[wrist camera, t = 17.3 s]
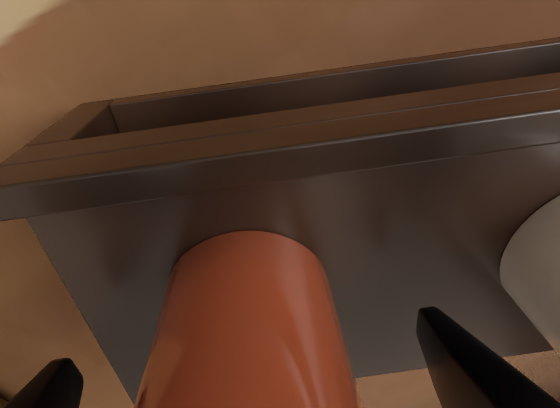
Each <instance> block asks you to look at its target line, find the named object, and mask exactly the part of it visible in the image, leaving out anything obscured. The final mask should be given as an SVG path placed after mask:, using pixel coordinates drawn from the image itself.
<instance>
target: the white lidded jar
mask: <svg viewBox="0 0 560 408" xmlns="http://www.w3.org/2000/svg"><path fill="white" fill-rule="evenodd" d="M500 279H501V283H502V286H503V288H504V289H505V291H506V292H507V294H508V295H509V296H510V297H511V298H512V300H513V301H514V302H515V303H516V304H517V306H518V307H519V308H520V309H521V310H522V312H523V313H524V314H525V315H526V316H527V318H528V319H529V320H530V321H531V322H532V324H533V325H534V326H535V327H536V328H537V330H538V331H539V332H540V333H541V335H542V336H543V337H544V338H545V339H546V341H547V342H548V343H549V344H550V345H551V347H552V348H553V349H554V350H555V351H556V353H557V354H558V355H559V356H560V195H559V196H557V197H556V198H554V199H553V200H551V201H549V202H548V203H546V204H545V205H544V206H542V207H541V208H539V209H538V210H537V211H536V212H535V213H533V214H532V215H531V216H530V217H529V218H528V219H527V220H526V221H525V222H524V223H523V224H522V225H521V226H520V227H519V228H518V230H517V231H516V232H515V233H514V235H513V236H512V238H511V239H510V241H509V242H508V244H507V246H506V248H505V250H504V252H503V255H502V258H501V262H500Z"/></svg>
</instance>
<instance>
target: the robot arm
mask: <svg viewBox="0 0 560 408" xmlns="http://www.w3.org/2000/svg"><path fill="white" fill-rule="evenodd" d="M416 334H417V338H418V341H419V344H420V347H421V350H422V353H423V356H424V359H425V361H426V364H427V367H428V370H429V373H430V376H431V379H432V382H433V385H434V387H435V390H436V393H437V396H438V398H439V400H440V403H441V405H442V407H443V408H560V403H559V402H558V401H557V400H555V399H554V398H553V397H551V396H550V395H549V394H548V393H546V392H545V391H544V390H542V389H541V388H540V387H539V386H537V385H536V384H535V383H534V382H532V381H531V380H530V379H528V378H527V377H526V376H525V375H523V374H522V373H521V372H519V371H518V370H517V369H516V368H514V367H513V366H512V365H510V364H509V363H508V362H507V361H505V360H504V359H503V358H501V357H500V356H499V355H498V354H496V353H495V352H494V351H492V350H491V349H490V348H489V347H487V346H486V345H485V344H483V343H482V342H481V341H480V340H478V339H477V338H476V337H475V336H473V335H472V334H471V333H469V332H468V331H467V330H466V329H464V328H463V327H462V326H460V325H459V324H458V323H457V322H455V321H454V320H453V319H451V318H450V317H449V316H448V315H446V314H445V313H444V312H442V311H441V310H440V309H439V308H437V307H435V306H431V307H424V308H420V309H419V311H418V317H417V325H416ZM83 383H84V382H83V376H82V375H81V373H80V372H79V370H78V368H77V367H76V365H75V364H74V362H73V361H72V360H71V359H70V358H62V359H56V360H53V361H51V362H49V363H48V364H47V365H46V366H45V367H44V368H43V369H42V370H41V371H40V372H39V373H38V374H37V375H36V376H35V377H34V378H33V379H32V380H31V381H30V382H29V383H28V384H27V385H26V386H25V387H24V388H23V389H22V390H20V391H19V392H18V393H17V394H16V395H15V396H14V397H13V398H12V399H11V400H10V401H9V402H8V403H7V404H6V405H5V406H4V407H3V408H79V405H80V400H81V395H82V390H83Z"/></svg>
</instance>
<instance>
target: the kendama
mask: <svg viewBox="0 0 560 408" xmlns="http://www.w3.org/2000/svg"><path fill="white" fill-rule="evenodd" d="M7 403H8V402H7V401H5V400H4V399H1V398H0V408H3V407H4V406H5V405H6V404H7Z"/></svg>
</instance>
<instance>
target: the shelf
mask: <svg viewBox="0 0 560 408" xmlns="http://www.w3.org/2000/svg"><path fill="white" fill-rule="evenodd" d="M559 195H560V37H559V38H552V39H545V40H537V41H530V42H523V43H516V44H509V45H501V46H494V47H487V48H480V49H473V50H465V51H458V52H451V53H444V54H437V55H429V56H422V57H415V58H408V59H401V60H394V61H386V62H379V63H372V64H365V65H358V66H350V67H343V68H336V69H329V70H322V71H314V72H307V73H300V74H293V75H286V76H278V77H271V78H264V79H257V80H250V81H242V82H235V83H228V84H221V85H214V86H207V87H199V88H192V89H185V90H178V91H171V92H163V93H156V94H149V95H142V96H135V97H127V98H120V99H115V100H106V101H99V102H91V103H84V104H80V105H79V106H78V107H76V108H75V109H74V110H72V111H71V112H70V113H68V114H67V115H65V116H64V117H63V118H61V119H60V120H59V121H57V122H56V123H55V124H53V125H52V126H51V127H49V128H48V129H47V130H45V131H44V132H43V133H41V134H40V135H39V136H37V137H36V138H34V139H33V140H32V141H30V142H29V143H28V144H26V145H25V146H24V147H22V148H21V149H20V150H18V151H17V152H16V153H14V154H13V155H11V156H10V157H9V158H7V159H6V160H5V161H3V162H2V163H1V164H0V221H6V220H13V219H20V218H26V219H27V221H28V223H29V224H30V226H31V228H32V230H33V231H34V233H35V235H36V237H37V238H38V240H39V242H40V243H41V245H42V247H43V249H44V250H45V252H46V254H47V255H48V257H49V259H50V261H51V262H52V264H53V266H54V268H55V269H56V271H57V273H58V274H59V276H60V278H61V280H62V281H63V283H64V285H65V286H66V288H67V290H68V292H69V293H70V295H71V297H72V299H73V300H74V302H75V304H76V305H77V307H78V309H79V311H80V312H81V314H82V316H83V317H84V319H85V321H86V323H87V324H88V326H89V328H90V330H91V331H92V333H93V335H94V336H95V338H96V340H97V342H98V343H99V345H100V347H101V348H102V350H103V352H104V354H105V355H106V357H107V359H108V361H109V362H110V364H111V366H112V367H113V369H114V371H115V373H116V374H117V376H118V378H119V379H120V381H121V383H122V385H123V386H124V388H125V390H126V392H127V393H128V395H129V397H130V398H131V400H132V402H133V404H134V405H135V402H136V399H137V395H138V391H139V387H140V383H141V380H142V376H143V372H144V368H145V365H146V361H147V357H148V353H149V350H150V346H151V342H152V338H153V335H154V331H155V327H156V323H157V319H158V316H159V312H160V308H161V304H162V301H163V297H164V293H165V289H166V286H167V282H168V278H169V275H170V273H171V271H172V269H173V267H174V266H175V264H176V263H177V262H178V260H179V259H180V258H181V257H182V256H183V255H184V254H185V253H186V252H188V251H189V250H190V249H191V248H193V247H194V246H196V245H197V244H199V243H201V242H202V241H205V240H207V239H209V238H211V237H214V236H217V235H220V234H224V233H229V232H234V231H245V230H255V231H265V232H272V233H276V234H280V235H283V236H285V237H288V238H291V239H293V240H295V241H297V242H299V243H300V244H302V245H303V246H305V247H306V248H308V249H309V250H310V251H311V252H312V253H313V254H314V255H315V256H316V257H317V258H318V259H319V261H320V262H321V263H322V265H323V267H324V269H325V271H326V274H327V277H328V280H329V284H330V287H331V291H332V295H333V298H334V302H335V306H336V309H337V313H338V317H339V321H340V324H341V328H342V332H343V335H344V339H345V343H346V346H347V350H348V354H349V358H350V361H351V365H352V369H353V372H354V376H355V378H359V377H367V376H374V375H381V374H388V373H395V372H402V371H409V370H416V369H423V368H428V367H427V364H426V361H425V359H424V356H423V353H422V350H421V347H420V344H419V341H418V338H417V334H416V325H417V317H418V311H419V309H420V308H424V307H431V306H435V307H437V308H439V309H440V310H441V311H442V312H444V313H445V314H446V315H448V316H449V317H450V318H451V319H453V320H454V321H455V322H457V323H458V324H459V325H460V326H462V327H463V328H464V329H466V330H467V331H468V332H469V333H471V334H472V335H473V336H475V337H476V338H477V339H478V340H480V341H481V342H482V343H483V344H485V345H486V346H487V347H489V348H490V349H491V350H492V351H494V352H495V353H496V354H498V355H499V356H500V357H508V356H515V355H522V354H529V353H536V352H543V351H550V350H554V349H553V348H552V347H551V345H550V344H549V343H548V342H547V341H546V339H545V338H544V337H543V336H542V335H541V333H540V332H539V331H538V330H537V328H536V327H535V326H534V325H533V324H532V322H531V321H530V320H529V319H528V318H527V316H526V315H525V314H524V313H523V312H522V310H521V309H520V308H519V307H518V306H517V304H516V303H515V302H514V301H513V300H512V298H511V297H510V296H509V295H508V294H507V292H506V291H505V289H504V288H503V286H502V283H501V279H500V262H501V258H502V255H503V252H504V250H505V248H506V246H507V244H508V242H509V241H510V239H511V238H512V236H513V235H514V233H515V232H516V231H517V230H518V228H519V227H520V226H521V225H522V224H523V223H524V222H525V221H526V220H527V219H528V218H529V217H530V216H531V215H532V214H533V213H535V212H536V211H537V210H538V209H539V208H541V207H542V206H544V205H545V204H546V203H548V202H549V201H551V200H553V199H554V198H556V197H557V196H559Z"/></svg>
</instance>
